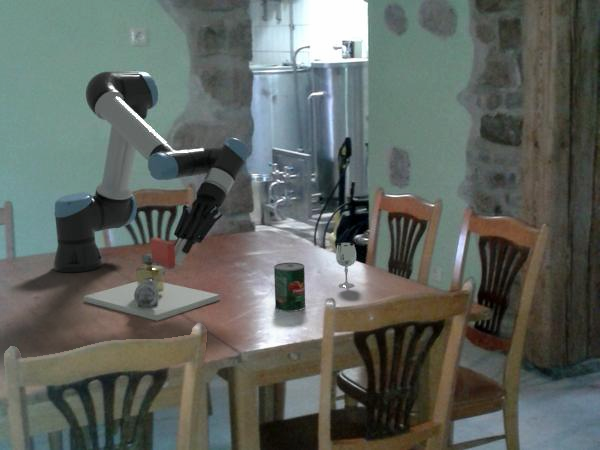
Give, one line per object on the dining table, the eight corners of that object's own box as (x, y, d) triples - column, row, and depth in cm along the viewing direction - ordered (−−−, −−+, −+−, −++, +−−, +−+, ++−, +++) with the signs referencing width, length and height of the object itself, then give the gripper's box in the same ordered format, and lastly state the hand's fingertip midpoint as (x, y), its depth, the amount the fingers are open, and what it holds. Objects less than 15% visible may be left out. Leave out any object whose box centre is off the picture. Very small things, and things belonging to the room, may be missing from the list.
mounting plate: (84, 301, 215) (83, 296, 214) (146, 283, 231) (146, 278, 231) (157, 320, 196) (156, 315, 196) (219, 300, 213) (219, 294, 212)
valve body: (142, 283, 226) (140, 253, 224) (167, 282, 226) (165, 252, 225) (133, 310, 200) (130, 275, 198) (160, 308, 201) (158, 274, 199)
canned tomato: (302, 312, 200) (301, 270, 198) (272, 311, 202) (271, 269, 199) (307, 303, 208) (306, 262, 206) (278, 302, 209) (277, 262, 207)
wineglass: (355, 288, 220) (354, 246, 218) (334, 288, 221) (334, 246, 219) (357, 283, 226) (357, 242, 224) (338, 282, 227) (337, 242, 225)
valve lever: (140, 261, 212) (138, 235, 211) (152, 259, 214) (150, 233, 213) (165, 273, 199) (164, 245, 198) (178, 270, 201) (177, 242, 200)
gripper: (240, 198, 212) (200, 273, 203) (203, 194, 220) (164, 265, 211) (226, 182, 207) (184, 258, 198) (188, 178, 215) (147, 251, 206)
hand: (174, 262), depth 204 cm, fingers closed
